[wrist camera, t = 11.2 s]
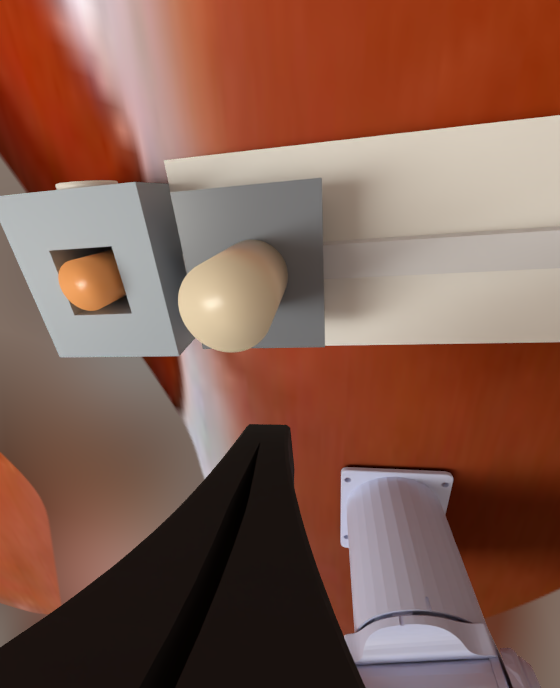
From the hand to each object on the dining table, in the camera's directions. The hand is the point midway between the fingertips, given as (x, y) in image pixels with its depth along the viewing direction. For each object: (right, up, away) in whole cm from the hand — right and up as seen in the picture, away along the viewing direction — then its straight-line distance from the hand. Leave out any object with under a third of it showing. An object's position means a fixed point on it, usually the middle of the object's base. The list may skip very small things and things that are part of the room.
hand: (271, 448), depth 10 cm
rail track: (+8, +9, +6) cm, 13 cm away
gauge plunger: (-8, +8, +7) cm, 13 cm away
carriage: (0, +8, +6) cm, 10 cm away
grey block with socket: (-8, +8, +9) cm, 14 cm away
